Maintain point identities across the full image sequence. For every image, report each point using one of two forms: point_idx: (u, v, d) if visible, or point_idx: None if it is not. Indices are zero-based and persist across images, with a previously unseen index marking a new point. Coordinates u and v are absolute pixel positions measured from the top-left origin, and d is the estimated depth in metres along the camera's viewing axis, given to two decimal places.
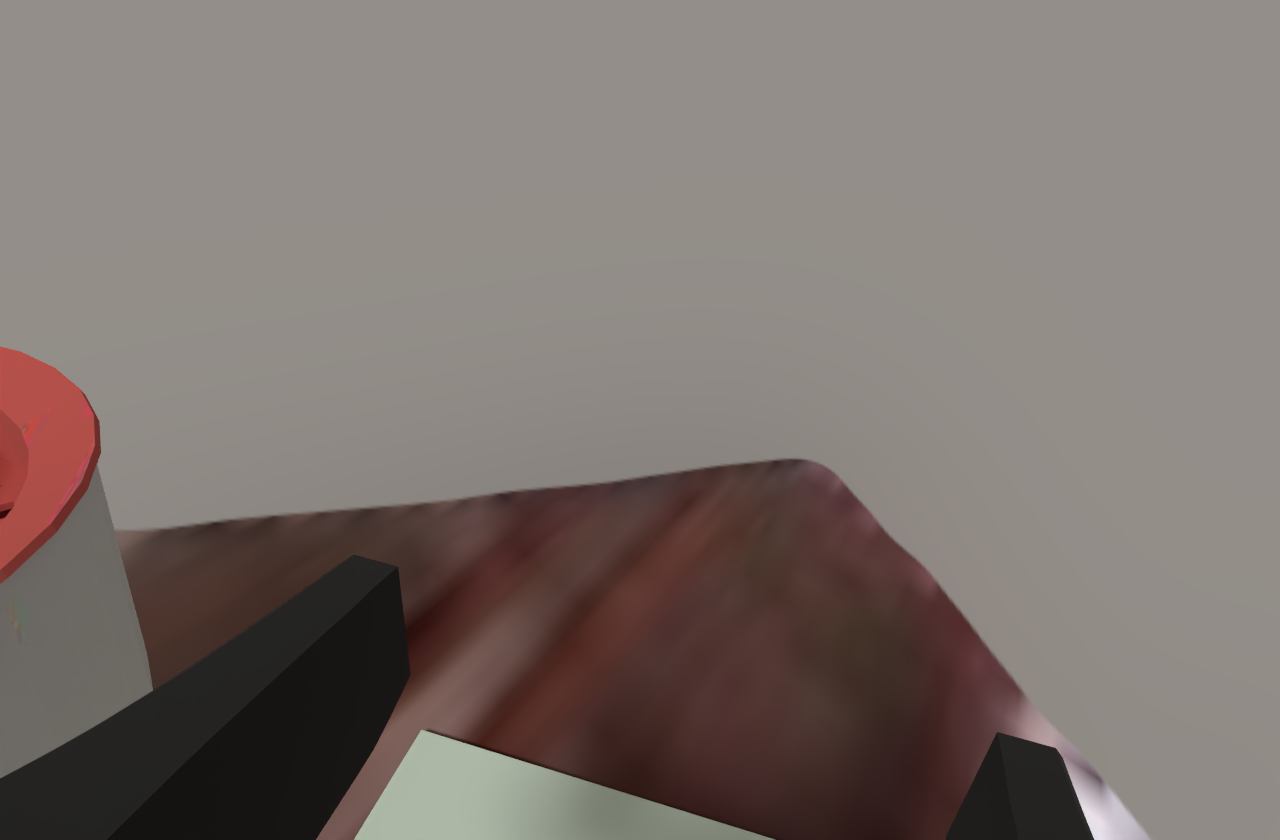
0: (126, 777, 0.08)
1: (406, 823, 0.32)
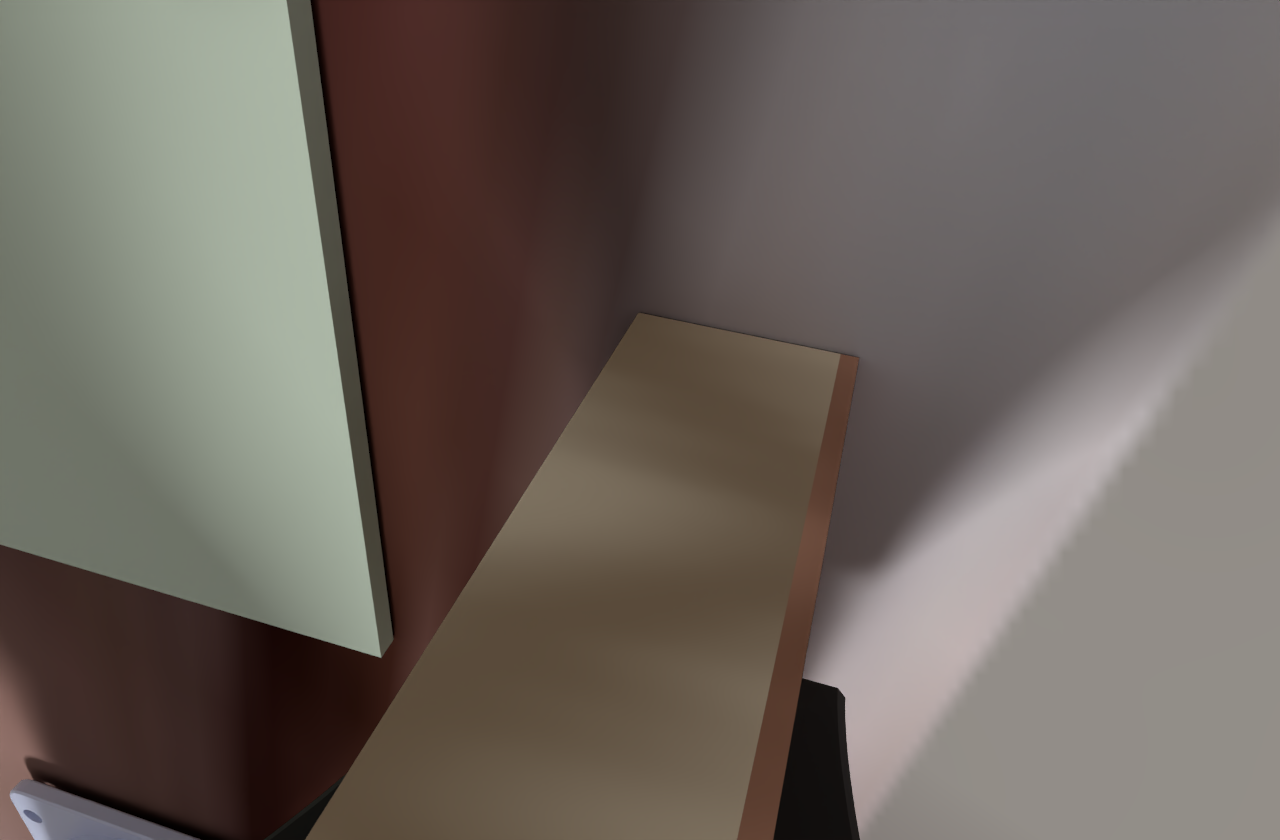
0: None
1: None
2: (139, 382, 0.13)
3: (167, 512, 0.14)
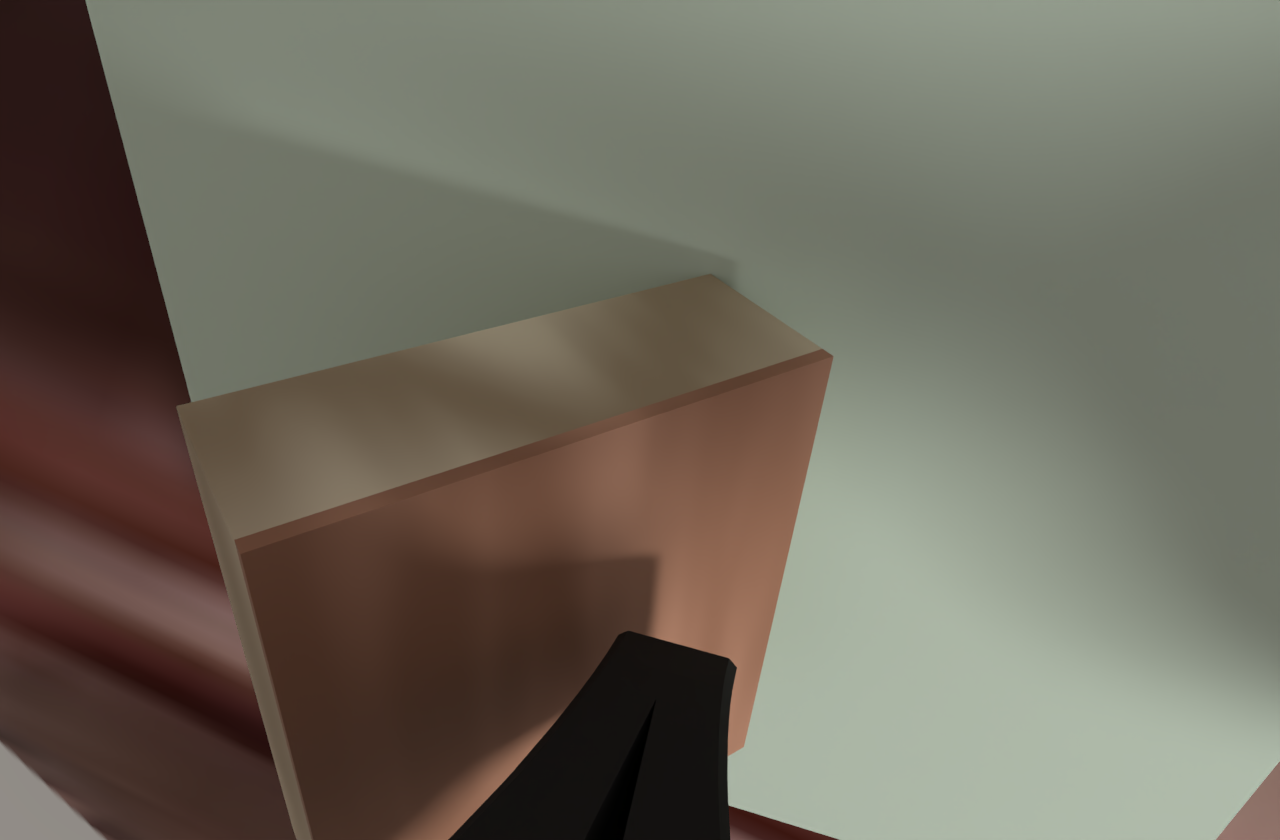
0: None
1: None
2: (1224, 177, 0.10)
3: None
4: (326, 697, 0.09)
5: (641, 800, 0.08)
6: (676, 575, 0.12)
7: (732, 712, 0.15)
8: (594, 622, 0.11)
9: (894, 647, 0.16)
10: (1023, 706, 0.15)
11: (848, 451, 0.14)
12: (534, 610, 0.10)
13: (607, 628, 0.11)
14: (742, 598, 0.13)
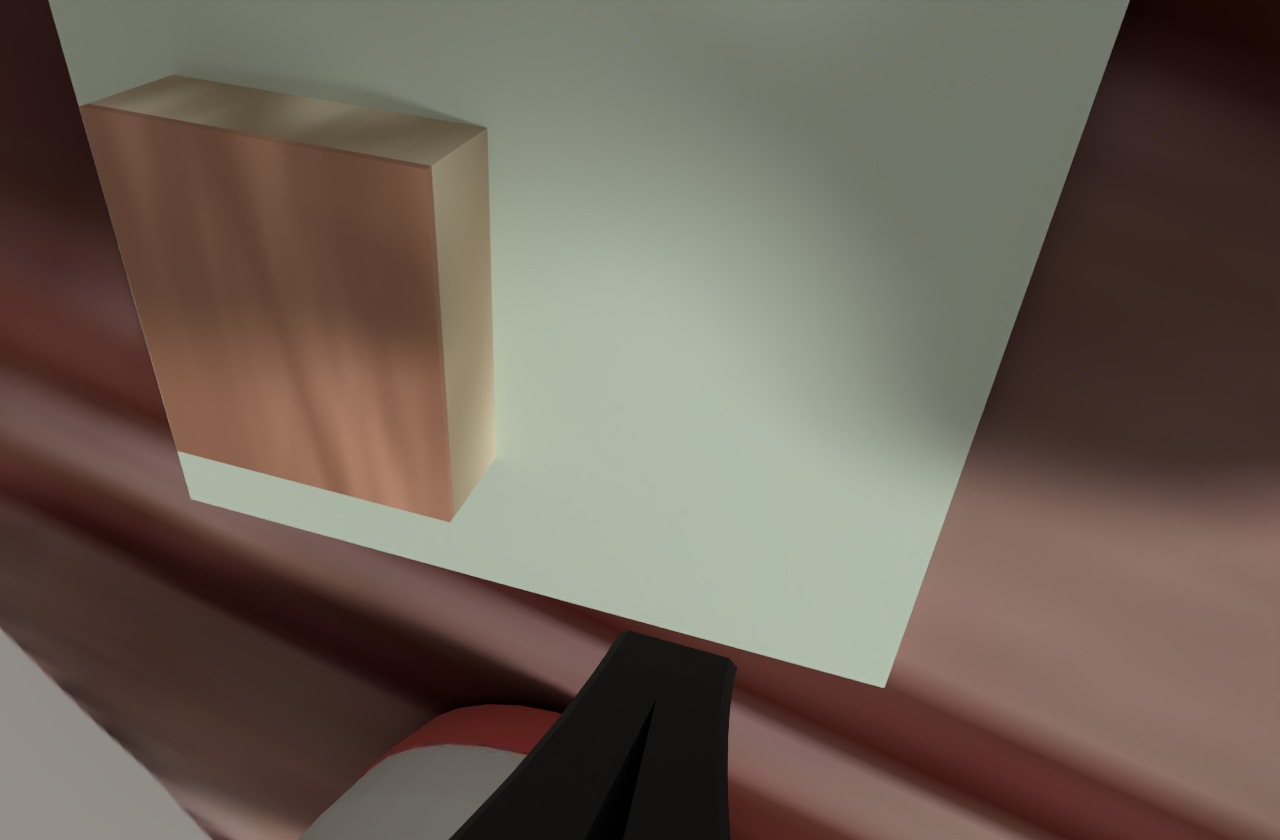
0: None
1: (300, 493, 0.25)
2: (810, 36, 0.15)
3: (963, 73, 0.14)
4: (130, 223, 0.18)
5: (641, 800, 0.08)
6: (335, 290, 0.17)
7: (426, 471, 0.19)
8: (281, 288, 0.18)
9: (663, 438, 0.20)
10: (763, 483, 0.20)
11: (605, 269, 0.18)
12: (236, 247, 0.17)
13: (292, 300, 0.18)
14: (403, 355, 0.18)
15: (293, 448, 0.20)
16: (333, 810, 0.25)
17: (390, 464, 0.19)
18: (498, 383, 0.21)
